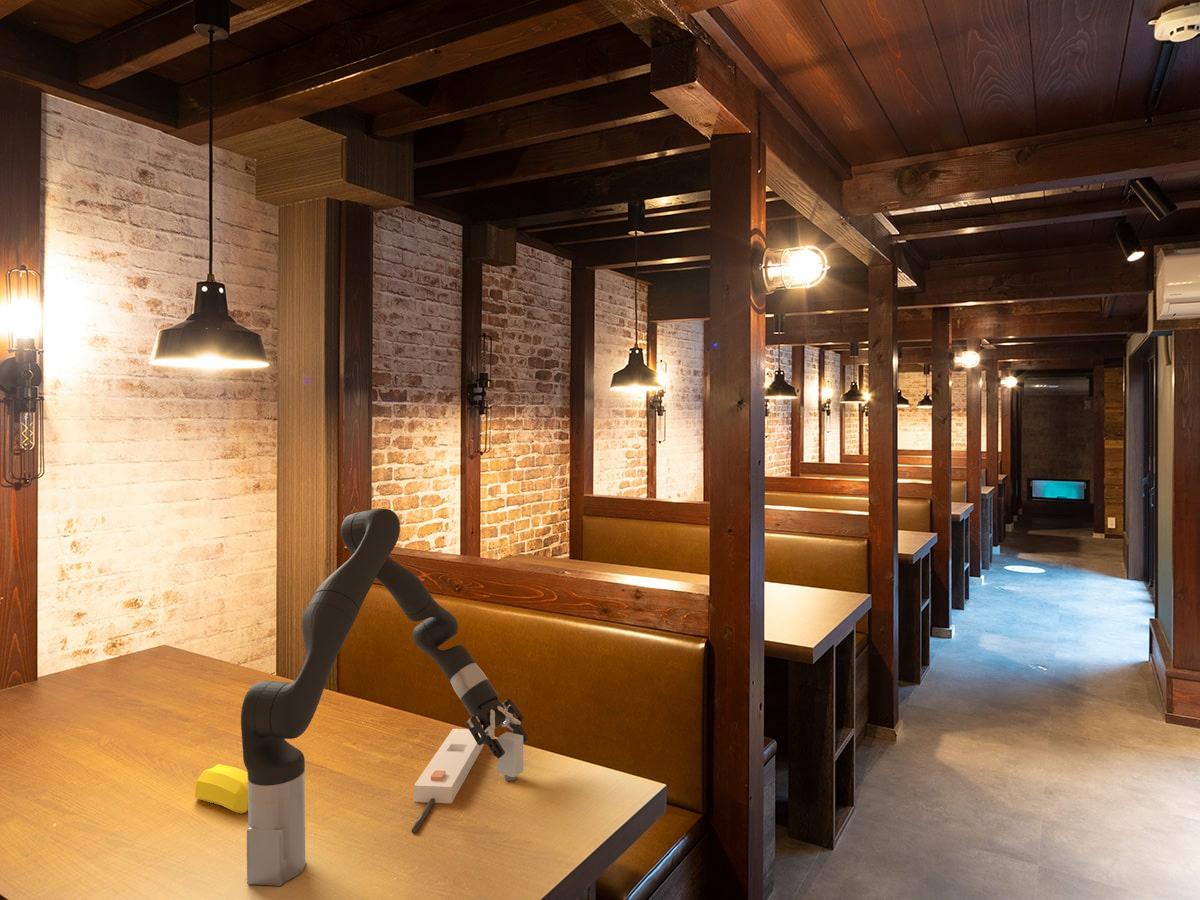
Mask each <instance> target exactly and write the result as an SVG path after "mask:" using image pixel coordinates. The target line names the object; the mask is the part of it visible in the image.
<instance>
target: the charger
mask: <svg viewBox="0 0 1200 900" xmlns="http://www.w3.org/2000/svg"><path fill="white" fill-rule="evenodd" d="M496 739H497V740H498V742H499V743H500V745H501V746H502V748H503V749H504V751H505V754H504V755H503V756H502V757H501V758H499V759H498V758H497V757H496V758H497V762H496V763H497V764H496V765H497V767H496V770H497V774H500V775H504V779H505V780H506V781H505V780H504V779H503V780H504V781H505V782H507V781H512V782H514V781H513V780H515V779H516V780H517V776H518V775H520V774H521V773H523V772H524V744H523V735H519V734H514V733H513V732H510V731H505V732H504V733H502V734H499V736H497V737H496ZM516 780H515V781H516Z"/></svg>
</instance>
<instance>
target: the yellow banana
mask: <svg viewBox="0 0 1200 900" xmlns="http://www.w3.org/2000/svg"><path fill="white" fill-rule="evenodd" d="M194 797H195V798H196V799H198V800H200V801H202V800H203V801H202V802H207V803H209V802H210V803H209V804H213V803H214V804H213V805H219V806H222V807H223V808H226V809H227V810H230V811H232V812H234V813H236V814H238V813H240V814H239V815H243V814H245V813H247V812H248V772H247V770H243V769H241V768H239V767H235V766H230V765H225V764H221V763H218V764H216V765H214V766H213V767H211V768H207V769H204V770H203V771H202V772H201V774H200V775H199V777H198V779H197V780H196V786H195V793H194Z"/></svg>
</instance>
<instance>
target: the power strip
mask: <svg viewBox="0 0 1200 900" xmlns="http://www.w3.org/2000/svg"><path fill="white" fill-rule="evenodd" d="M478 734H479V733H478ZM479 736H480V734H479ZM480 738H481V736H480ZM484 746H485V744H482V745H478V744H477V742H476V740H475V739H474V737H473V735H472V734H471V732H470V730H469V729H468V728H452V729H451V730H450V732H449V734H448V735H447V737H446V738H445V739H444V741H443V743H442V744H441V745H440V747H439V748H438V750H437V751H436V752H435V754H434V756H433V757H432V759H430V762H429V763H428V764H427V765H426V767H425V768H424V770H423V771H422V773H421V774H420V776H419V777H418V779H416V781H415V782H414V785H413V802H414V803H427V804H426V806H425V807H424V809H423V811H422V812H421V814H420V816H419V817H418V818H417V821H416V822H415V824H414V825H413V827H412V828H411V833H412V834H416V833H417V832H418V830H419V829H420V827H421V825H422V824H423V822H424V820H425V819H426V817H427V815H428V813H429V812H430V810H431V809H432V807H433V805H434V804H453V802H454V800H455V798H456V796H457V795H458V793H459V792H460V789H461V787H462V786H463V783H465V781H466V778H467V776H468V775H469V773H470V771H471V769H472V767H473V766H474V764H475V762H476V760H477V759H478V757H479V755H480V753H481V752H482V750H483V747H484Z"/></svg>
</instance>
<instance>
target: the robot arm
mask: <svg viewBox="0 0 1200 900" xmlns="http://www.w3.org/2000/svg"><path fill="white" fill-rule="evenodd" d="M400 523H401V522H400V519H399V517H398V515H397V513H396V512H394V511H393V510H391V509H390V508H389V509H388V508H374V509H369V510H364V511H357V512H354V513H351V514H349V515H347V516H345V518H344V519H343V521H342V523H341V526H340V536H341V540H342V541H343V545H345V547H346V549H347V550H348V552H350V553H351V556H350V557H349V559H347V560H346V561H345V562H344V563H343V564H342V565H340V567H338V568H337V569H336V570H335V571H334V572H332V573H331V574H330V575H329V576H328V577H327V578H326V579H325V580H324V581H323V582H322V583H321V584H320V585H319V586H318V587H317V589H316V591H315V592H314V594H313V596H312V598H311V599H310V602H309V604H308V605H307V607H306V609H305V611H304V612H303V615H302V621H301V631H302V637H303V643H304V648H305V649H304V650H305V657H304V661H303V665H302V667H301V669H300V671H299V673H298V675H297V677H296V679H295V680H293V682H285V681H278V680H277V681H276V680H262V681H261V680H259V681H257V682H255V683H254V684H253V685H251V686H250V688H249V689H248V690H247V692H246V694H245V696H244V698H243V702H242V705H241V709H240V710H241V711H240V712H241V713H240V731H241V741H242V742H241V743H242V746H241V747H242V760H243V764H244V768H245V769H246V772H248V810H247V824H248V825H247V830H246V883H247V884H248V885H256V886H257V885H259V886H260V885H261V886H276V887H277V886H280V887H281V886H283V885H284V883H286V882H288V881H290V880H292V879H294V878H296V877H297V876H299V875H300V874H301V873H302V872H303V871H304V869H305V867H306V788H305V787H306V778H305V777H306V775H305V773H306V770H305V767H306V765H305V764H306V763H305V755H304V753H303V751H302V750H300V749H299V748H297V747H295V746H294V745H292V744H291V743H289V742H288V741H287V739H288V740H291V739H292V740H293V739H297V738H299V737H301V736H302V735H303V734H305V731H306V730H307V729H308V728H309V726H310V724H311V722H312V720H313V719H314V716H315V714H316V712H317V709H318V706H319V703H320V701H321V699H322V698H321V697H322V695H323V693H324V689H325V686H326V685H327V682H328V679H329V676H330V673H331V672H332V669H333V666H334V664H335V661H336V659H337V657H338V656H339V653H340V651H341V649H342V647H343V644H344V643H345V640H346V639H347V637H348V635H349V633H350V631H351V629H352V627H353V625H354V623H355V622H356V619H357V618H358V615H359V613H360V610H361V607H362V606H363V603H364V601H365V599H366V597H367V595H368V593H369V592H370V590H371V588H372V586H373V583H374V582H375V580H378V582H379V583H380V584H381V585H383V586H384V588H385V589H386V590H387V591H388V592H389V593H390V595H391V596H392V597H393V599H394V600H395V601H396V603H397V604H398V606H399V608H400V609H401V611H402V612H403V613H404V615H405V616H406V617H407V618H408V620H409V621H411V622H413V623H415V622H416V623H417V622H420V623H418V624H417V625H416V626H414V628H413V630H412V640H413V642H414V644H415V645H416V646H417V647H418V648H419V649H420V650H421V651H423V652H424V653H425V654H427V655H428V656H429V657H430V658H431V660H433V661H434V662H435V663H436V664H437V665H438V666H439V668H440V669H441V671H442V672H443V673H444V674H445V676H446V678H447V680H448V681H449V683H450V684H451V686H452V689H453V691H454V692H455V693H456V695H457V696H458V699H459V700H460V701H461V703H462V705H463V706H464V707H465V710H466V711H467V712H468V714H469V716H471V717H470V718H468V720H467V721H466V722H465V725H466V727H467V729H469V730H470V732H471V734H472V735H473V737H474V739H475V740H476V742H477V744H478V745H482V744H484V746H485V745H486V746H487V747H488V748H489V750H490V752H492V754H493V756H494V757H496V758H498V759H499V758H501V757H502V756H503V755H504V754H505V751H504V749H503V748H502V746H501V745H500V743H499V742H498V740H497V738H496V737H495V729H496V728H499V727H502V728H508V729H510V730H511V731H512V733H514V734H519V735H523V745H524V744H526V742H528V741H529V737H528V734H527V733H526V731H525V730H524V728H523V726H522V725H521V723H522V721H523V720H524V719H525V717H524V715H523V714H522V713H521V712H520V710H519V709H518V707H517V706H516V705H515V703H514V702H513V701H512V700H511V698H508V697H507V699H506V700H504V701H503V702H501V701H500V700H499V697H498V696H499V694H498V692H497V690H496V689H495V688H494V686H493V684H492V682H490V680H489V678H488V677H487V676H486V674H485V673H484V671H483V670H482V669H481V667H479V665H478V664H477V662H476V661H475V659H474V658H473V656H472V655H471V654H470V652H469V650H467V648H466V647H465V646H464V645H462V644H457V645H455V646H452V647H448V648H447V649H439V647H441V646H442V645H444V644H445V643H447V642H448V641H449V640H451V639H452V638H454V637H455V636H456V635H457V634H458V632H459V623H458V620H457V619H456V617H455V616H454V615H453V614H452V613H451V612H449V611H448V610H447V609H445V608H444V607H443V606H441V605H440V604H439V603H438V602H437V601H436V600H435V599H434V598H433V596H432V595H431V594H430V591H429V590H428V589H427V587H426V586H425V584H424V582H422V580H421V579H420V578H419V577H418V576H417V575H415V574H414V573H413V572H412V571H411V570H409V569H408V568H407V567H405V566H403V565H401V564H400V563H399V562H397V561H395V560H394V559H393V558H392V557H390V555H391V553H392V552H393V550H394V548H395V547H396V545H397V543H398V540H399V537H400V532H401V524H400ZM478 733H479V734H480V736H481V738H480V736H479V734H478Z"/></svg>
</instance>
